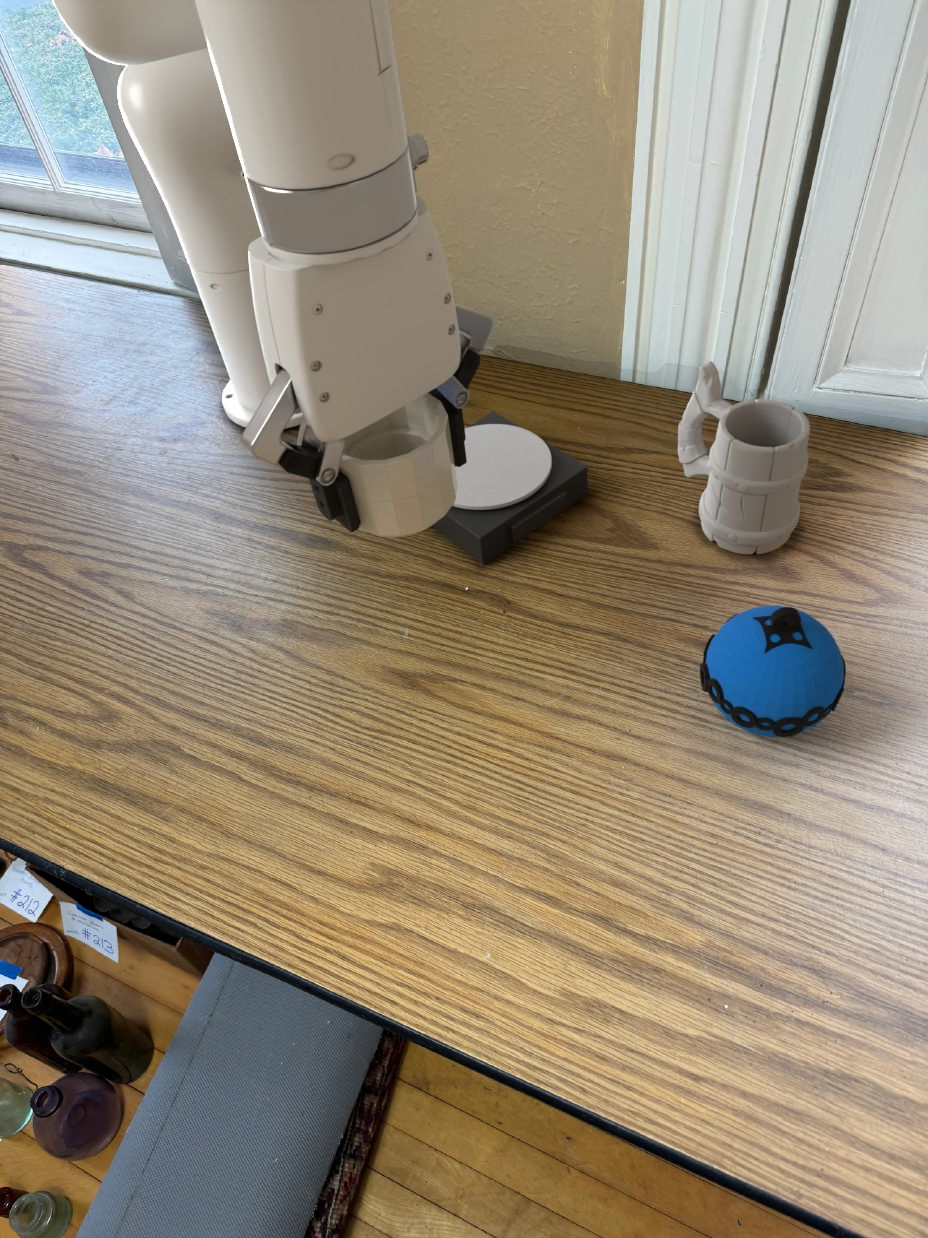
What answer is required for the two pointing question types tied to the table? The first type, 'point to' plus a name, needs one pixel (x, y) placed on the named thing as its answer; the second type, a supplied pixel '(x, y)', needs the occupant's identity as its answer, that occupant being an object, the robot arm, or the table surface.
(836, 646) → the ornament
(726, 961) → the table surface
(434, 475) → the off-white faceted cup
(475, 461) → the scale
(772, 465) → the mug
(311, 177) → the robot arm
